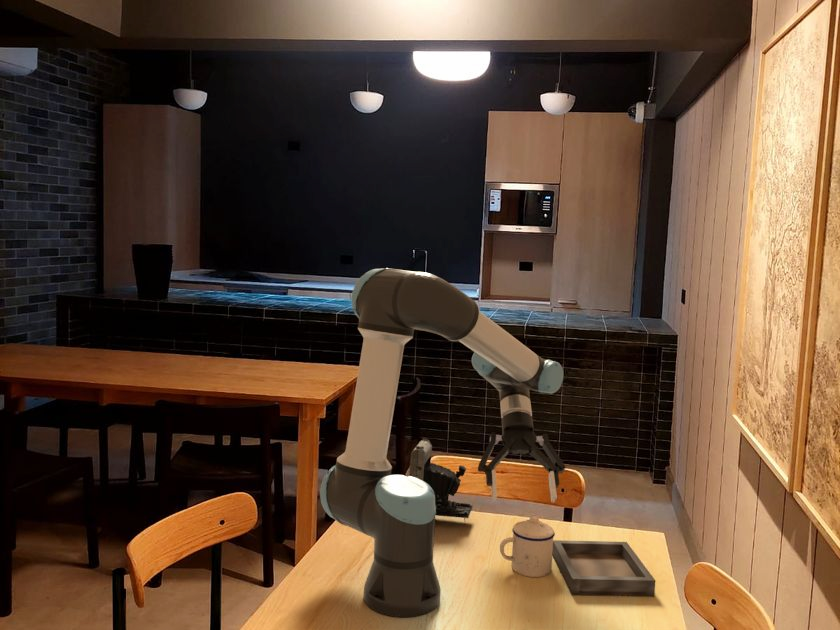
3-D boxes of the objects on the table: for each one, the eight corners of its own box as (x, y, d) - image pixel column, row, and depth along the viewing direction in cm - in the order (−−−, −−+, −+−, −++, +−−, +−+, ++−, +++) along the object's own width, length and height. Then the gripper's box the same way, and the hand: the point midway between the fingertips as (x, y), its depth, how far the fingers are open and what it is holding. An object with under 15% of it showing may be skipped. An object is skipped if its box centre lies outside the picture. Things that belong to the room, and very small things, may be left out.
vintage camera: (466, 534, 183) (473, 454, 181) (404, 525, 186) (410, 446, 184) (471, 520, 193) (478, 444, 191) (412, 511, 196) (418, 436, 194)
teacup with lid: (542, 558, 170) (545, 508, 169) (559, 576, 162) (562, 524, 160) (492, 562, 167) (494, 511, 166) (506, 580, 159) (509, 527, 157)
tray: (571, 595, 153) (572, 578, 153) (551, 555, 172) (552, 540, 172) (654, 596, 154) (655, 580, 154) (625, 556, 173) (626, 541, 173)
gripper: (564, 426, 188) (575, 507, 175) (464, 424, 187) (467, 505, 174) (570, 411, 182) (582, 493, 169) (467, 408, 181) (471, 491, 168)
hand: (524, 499), depth 171 cm, fingers open, 13 cm apart
